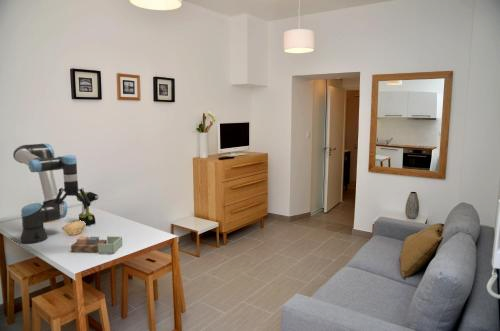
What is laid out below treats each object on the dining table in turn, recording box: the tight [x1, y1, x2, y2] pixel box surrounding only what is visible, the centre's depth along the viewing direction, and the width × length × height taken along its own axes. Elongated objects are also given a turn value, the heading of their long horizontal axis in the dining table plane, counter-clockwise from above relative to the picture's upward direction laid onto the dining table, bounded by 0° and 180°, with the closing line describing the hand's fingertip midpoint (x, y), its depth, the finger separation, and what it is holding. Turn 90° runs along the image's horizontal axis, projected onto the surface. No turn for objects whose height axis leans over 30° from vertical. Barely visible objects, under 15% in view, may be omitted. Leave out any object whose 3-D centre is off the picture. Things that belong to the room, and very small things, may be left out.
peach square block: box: [76, 235, 90, 244], centre depth 220 cm, size 5×5×3 cm
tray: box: [98, 235, 123, 255], centre depth 220 cm, size 9×13×6 cm
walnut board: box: [70, 239, 108, 254], centre depth 221 cm, size 17×11×4 cm, turn 87°
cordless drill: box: [76, 191, 99, 227], centre depth 264 cm, size 23×7×25 cm, turn 57°
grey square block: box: [87, 236, 100, 244], centre depth 220 cm, size 5×5×3 cm
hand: (73, 214), depth 221 cm, fingers open, 13 cm apart
